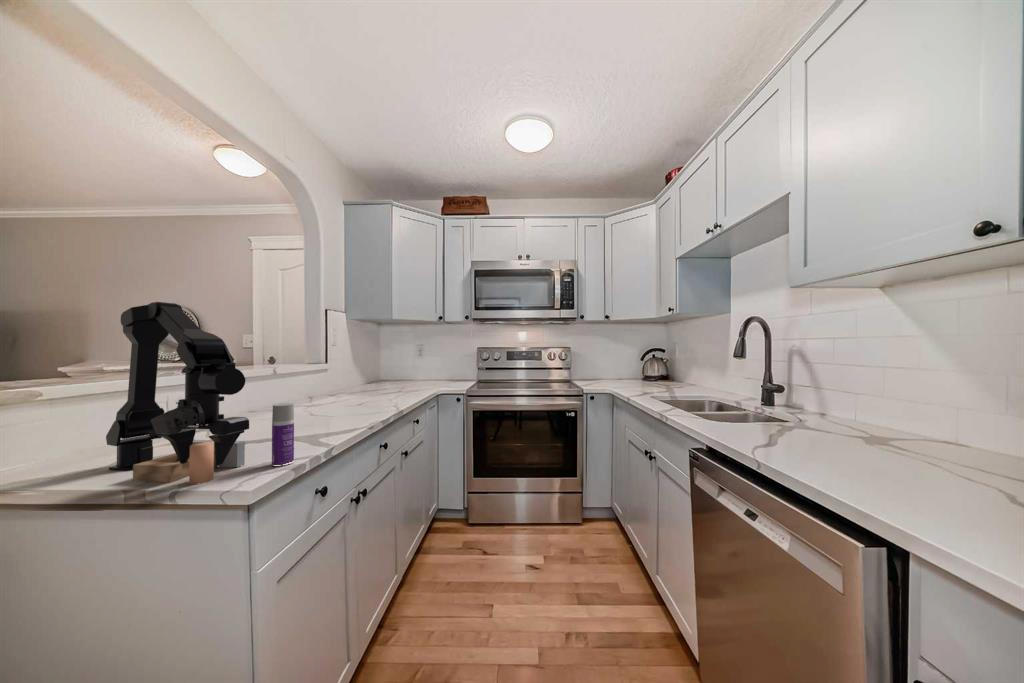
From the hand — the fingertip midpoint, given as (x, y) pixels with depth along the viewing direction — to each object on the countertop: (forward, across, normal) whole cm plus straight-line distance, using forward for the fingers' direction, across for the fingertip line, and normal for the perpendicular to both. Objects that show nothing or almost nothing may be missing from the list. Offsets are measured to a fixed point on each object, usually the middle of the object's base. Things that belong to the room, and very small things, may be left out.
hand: (201, 463), depth 77 cm
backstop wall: (+4, -8, +10) cm, 13 cm away
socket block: (+4, -11, +3) cm, 12 cm away
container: (+4, +9, +12) cm, 16 cm away
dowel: (+4, 0, 0) cm, 4 cm away
